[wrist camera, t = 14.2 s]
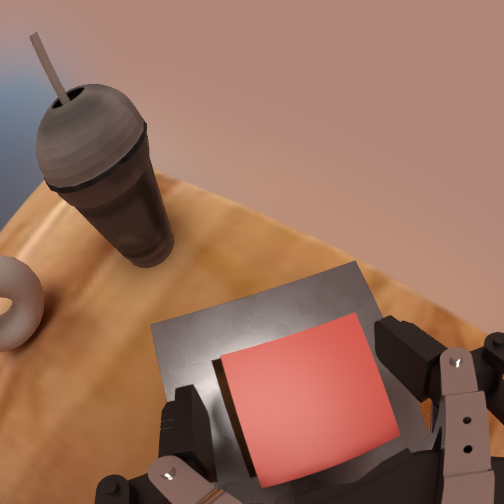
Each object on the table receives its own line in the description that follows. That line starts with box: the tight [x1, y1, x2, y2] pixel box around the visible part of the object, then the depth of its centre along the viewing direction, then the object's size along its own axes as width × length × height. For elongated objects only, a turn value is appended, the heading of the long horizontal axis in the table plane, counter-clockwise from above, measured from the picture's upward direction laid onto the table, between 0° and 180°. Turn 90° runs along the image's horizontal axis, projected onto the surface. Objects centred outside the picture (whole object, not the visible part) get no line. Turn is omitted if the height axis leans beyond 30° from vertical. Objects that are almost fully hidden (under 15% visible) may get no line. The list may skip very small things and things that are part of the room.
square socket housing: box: [150, 261, 430, 504], centre depth 16 cm, size 13×13×5 cm
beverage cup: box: [30, 32, 174, 268], centre depth 16 cm, size 7×7×20 cm
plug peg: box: [220, 313, 400, 488], centre depth 13 cm, size 4×4×12 cm
